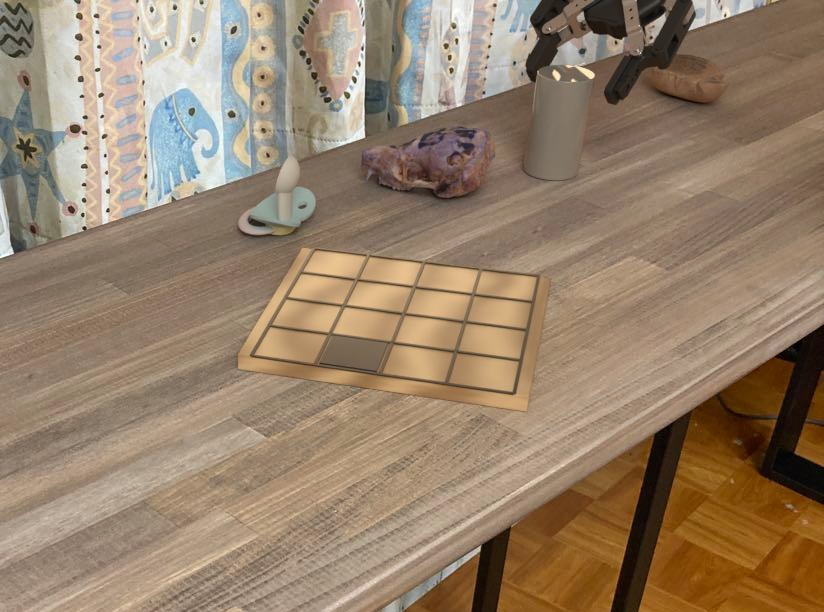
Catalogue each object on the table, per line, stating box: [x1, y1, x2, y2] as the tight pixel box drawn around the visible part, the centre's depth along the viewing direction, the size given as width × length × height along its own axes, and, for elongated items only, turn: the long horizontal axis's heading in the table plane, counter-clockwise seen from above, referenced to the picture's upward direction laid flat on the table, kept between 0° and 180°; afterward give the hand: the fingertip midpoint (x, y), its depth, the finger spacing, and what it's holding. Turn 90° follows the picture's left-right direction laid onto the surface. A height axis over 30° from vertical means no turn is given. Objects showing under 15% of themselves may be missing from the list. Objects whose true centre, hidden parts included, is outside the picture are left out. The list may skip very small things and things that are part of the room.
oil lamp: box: [648, 34, 730, 103], centre depth 125 cm, size 13×8×5 cm, turn 12°
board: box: [237, 246, 552, 412], centre depth 83 cm, size 20×18×1 cm
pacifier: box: [237, 155, 317, 236], centre depth 95 cm, size 7×6×6 cm
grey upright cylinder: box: [523, 64, 596, 181], centre depth 105 cm, size 5×5×9 cm
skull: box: [360, 125, 496, 199], centre depth 103 cm, size 12×8×6 cm, turn 68°
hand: (569, 88), depth 104 cm, fingers open, 8 cm apart
